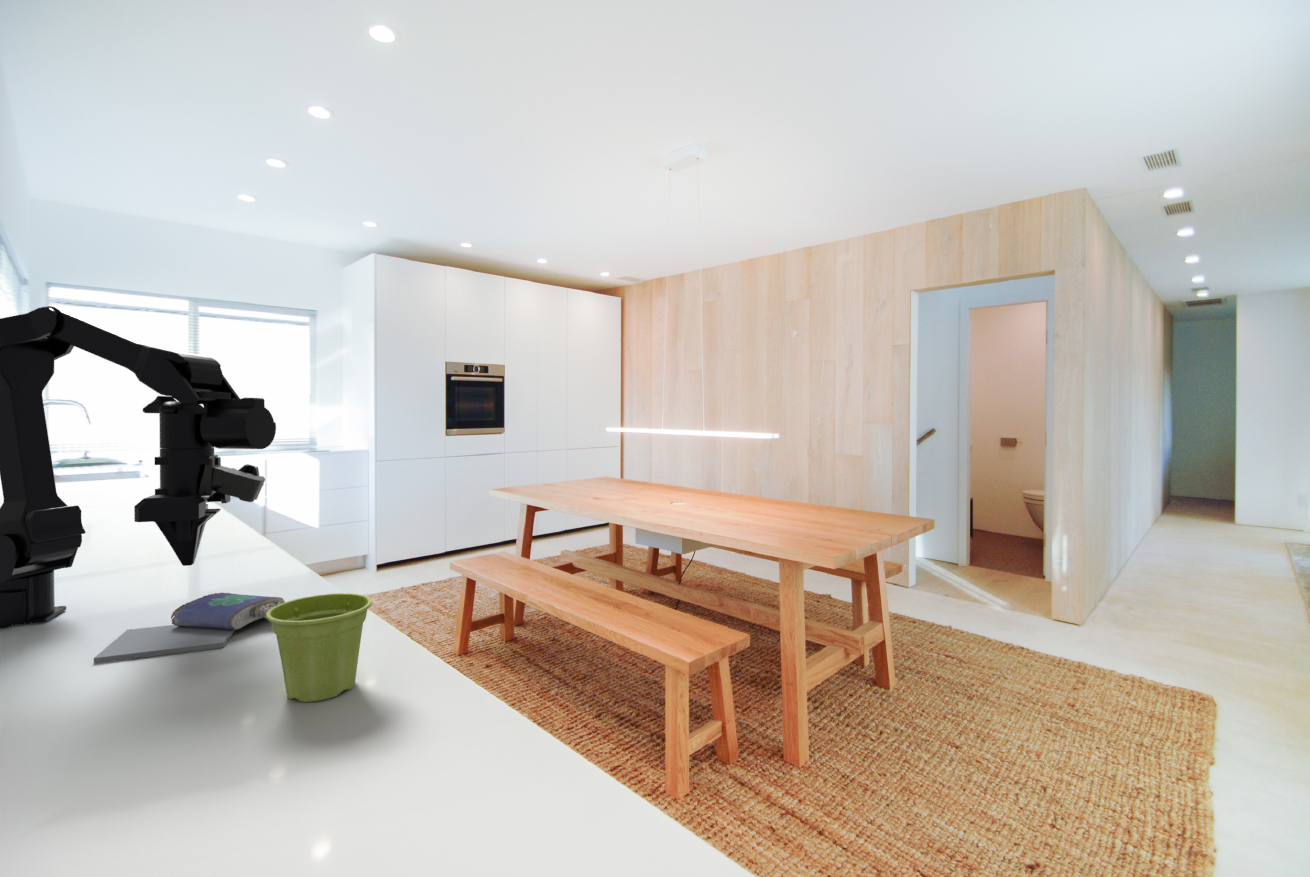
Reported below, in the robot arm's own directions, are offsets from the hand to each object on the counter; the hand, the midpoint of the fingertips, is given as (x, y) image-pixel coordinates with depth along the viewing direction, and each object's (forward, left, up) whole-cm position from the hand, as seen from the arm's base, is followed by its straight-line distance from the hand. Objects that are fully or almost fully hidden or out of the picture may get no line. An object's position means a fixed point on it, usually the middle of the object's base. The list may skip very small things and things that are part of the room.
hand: (188, 565), depth 79 cm
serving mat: (+7, 0, -8) cm, 10 cm away
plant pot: (+29, +18, -8) cm, 35 cm away
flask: (-1, +1, -6) cm, 6 cm away
